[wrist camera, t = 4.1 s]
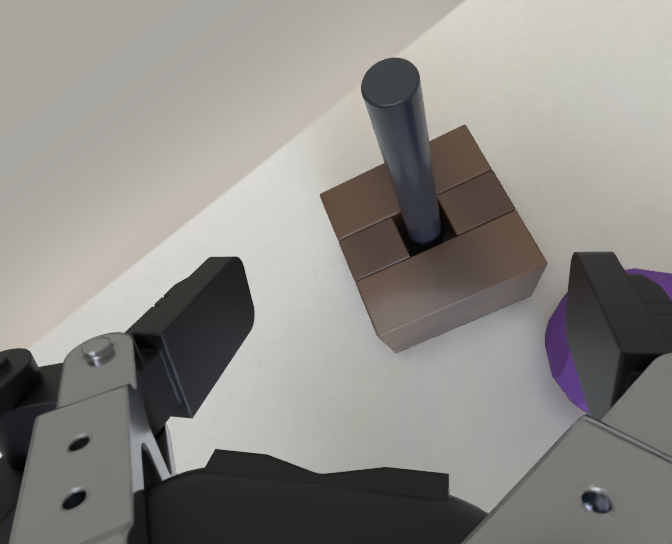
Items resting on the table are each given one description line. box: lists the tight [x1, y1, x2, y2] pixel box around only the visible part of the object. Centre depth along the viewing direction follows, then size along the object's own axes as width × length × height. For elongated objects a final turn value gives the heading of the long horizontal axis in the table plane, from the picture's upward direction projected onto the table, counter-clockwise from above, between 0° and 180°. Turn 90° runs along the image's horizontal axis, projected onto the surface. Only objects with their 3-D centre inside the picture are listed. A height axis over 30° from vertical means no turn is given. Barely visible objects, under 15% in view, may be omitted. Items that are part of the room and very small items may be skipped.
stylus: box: [361, 58, 443, 255], centre depth 18 cm, size 1×1×14 cm
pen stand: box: [320, 125, 547, 353], centre depth 22 cm, size 7×7×5 cm
